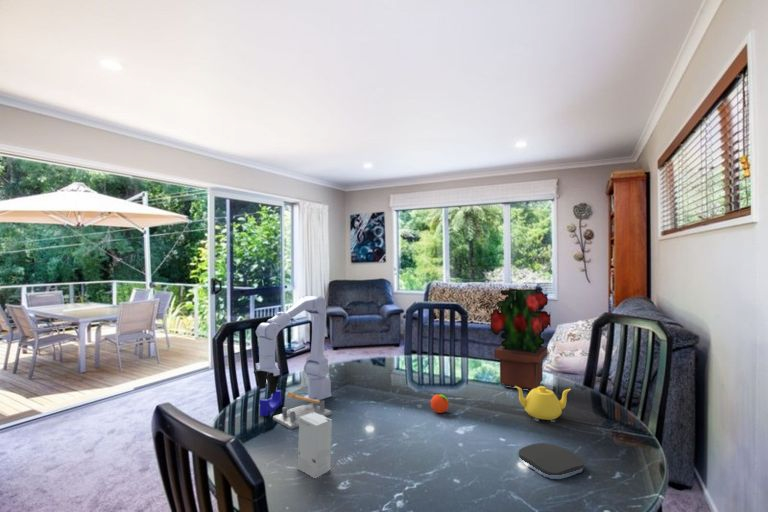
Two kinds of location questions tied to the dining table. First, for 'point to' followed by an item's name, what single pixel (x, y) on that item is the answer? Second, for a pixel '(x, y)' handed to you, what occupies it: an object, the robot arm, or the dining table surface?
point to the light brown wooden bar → (303, 398)
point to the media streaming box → (551, 458)
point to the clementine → (439, 403)
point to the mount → (300, 414)
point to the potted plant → (521, 337)
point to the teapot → (543, 403)
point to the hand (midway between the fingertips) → (267, 390)
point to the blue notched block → (270, 403)
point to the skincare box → (314, 444)
